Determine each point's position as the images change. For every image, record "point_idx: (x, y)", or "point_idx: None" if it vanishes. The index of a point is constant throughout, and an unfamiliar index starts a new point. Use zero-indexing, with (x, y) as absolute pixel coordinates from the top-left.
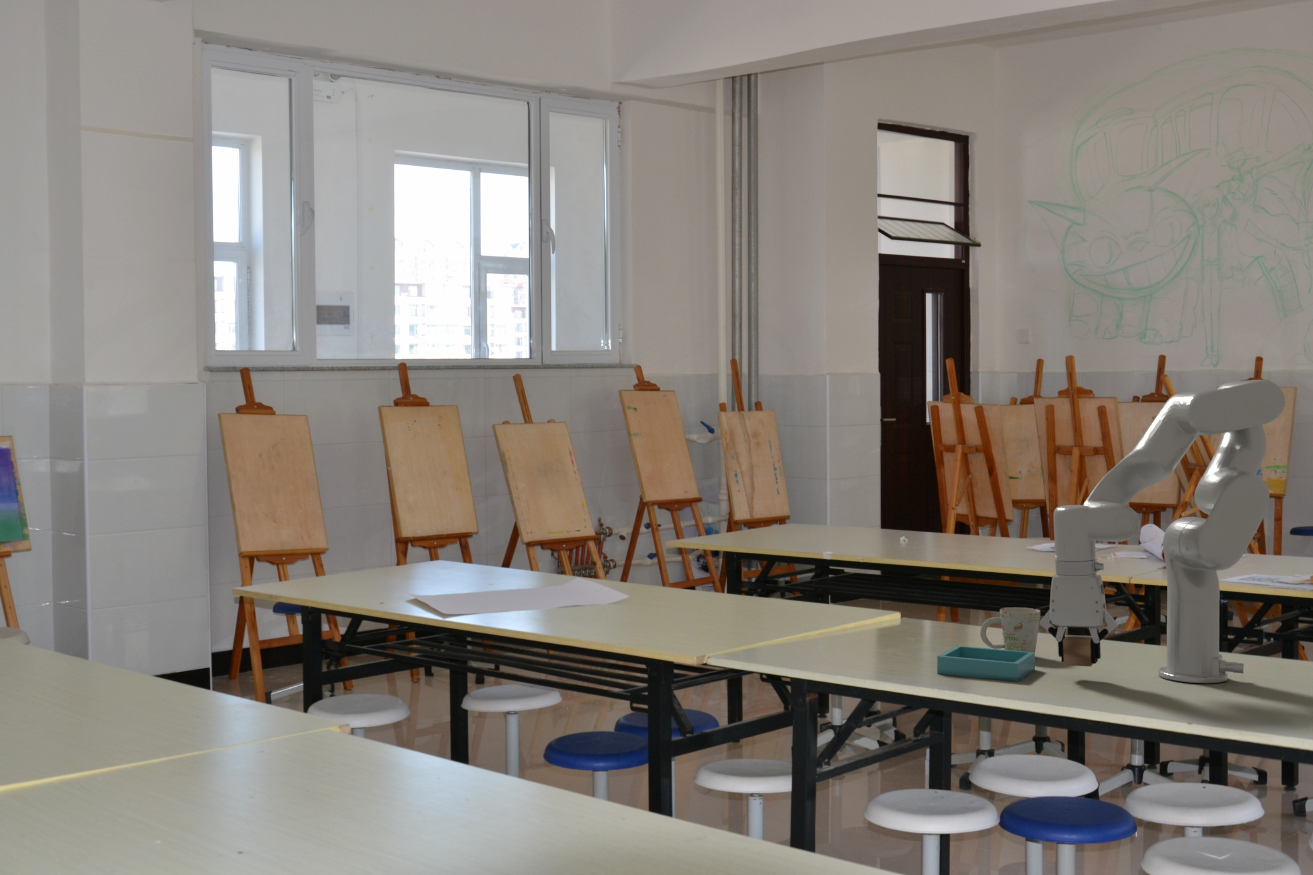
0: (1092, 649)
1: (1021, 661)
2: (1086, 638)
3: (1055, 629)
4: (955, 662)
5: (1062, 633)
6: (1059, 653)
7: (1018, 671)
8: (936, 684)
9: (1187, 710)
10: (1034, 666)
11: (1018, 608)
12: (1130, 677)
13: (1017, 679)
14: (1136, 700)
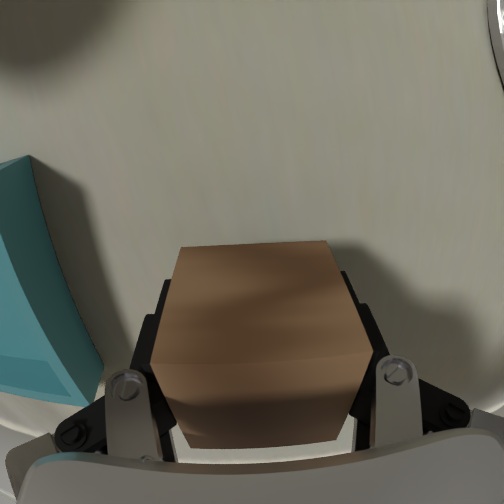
0: None
1: (72, 380)
2: (316, 414)
3: (99, 446)
4: None
5: (172, 460)
6: None
7: (96, 386)
8: (35, 418)
9: (462, 386)
10: (22, 164)
11: None
12: (423, 101)
13: (101, 370)
14: None
